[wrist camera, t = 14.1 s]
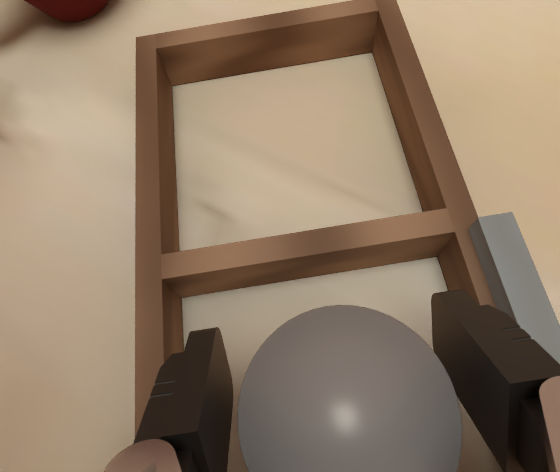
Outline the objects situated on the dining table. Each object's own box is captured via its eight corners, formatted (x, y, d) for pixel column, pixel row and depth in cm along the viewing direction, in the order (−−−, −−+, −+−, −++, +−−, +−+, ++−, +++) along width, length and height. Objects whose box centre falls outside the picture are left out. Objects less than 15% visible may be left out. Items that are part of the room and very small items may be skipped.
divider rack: (166, 682, 13) (117, 766, 10) (153, 75, 23) (127, 19, 20) (611, 618, 13) (708, 681, 10) (398, 33, 23) (411, -29, 20)
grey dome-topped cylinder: (284, 496, 15) (251, 566, 8) (267, 367, 17) (227, 322, 9) (408, 476, 15) (496, 526, 8) (378, 348, 17) (424, 289, 9)
